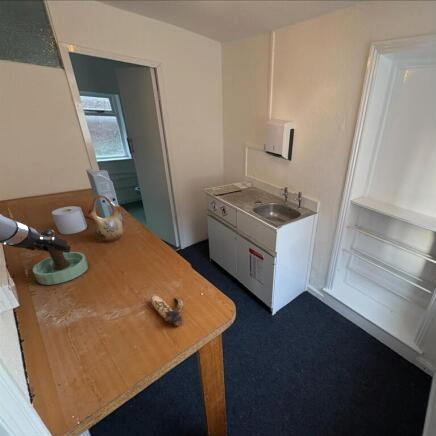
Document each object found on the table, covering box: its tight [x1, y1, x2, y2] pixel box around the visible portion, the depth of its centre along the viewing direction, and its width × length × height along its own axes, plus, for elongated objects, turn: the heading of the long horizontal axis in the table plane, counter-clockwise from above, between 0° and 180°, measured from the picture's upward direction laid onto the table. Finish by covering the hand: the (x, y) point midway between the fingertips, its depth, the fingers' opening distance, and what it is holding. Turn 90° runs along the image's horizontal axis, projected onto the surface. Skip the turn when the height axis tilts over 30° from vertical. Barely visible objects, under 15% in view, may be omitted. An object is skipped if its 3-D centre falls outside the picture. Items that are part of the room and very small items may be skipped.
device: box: [85, 168, 123, 223], centre depth 137 cm, size 16×8×30 cm, turn 48°
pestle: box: [40, 228, 70, 271], centre depth 92 cm, size 5×5×18 cm
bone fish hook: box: [150, 294, 184, 327], centre depth 83 cm, size 9×5×18 cm
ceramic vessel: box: [83, 195, 125, 243], centre depth 118 cm, size 16×9×25 cm, turn 140°
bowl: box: [32, 251, 89, 286], centre depth 96 cm, size 16×16×6 cm
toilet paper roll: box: [51, 206, 88, 235], centre depth 127 cm, size 12×12×12 cm
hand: (62, 250), depth 97 cm, fingers closed on pestle, 4 cm apart
